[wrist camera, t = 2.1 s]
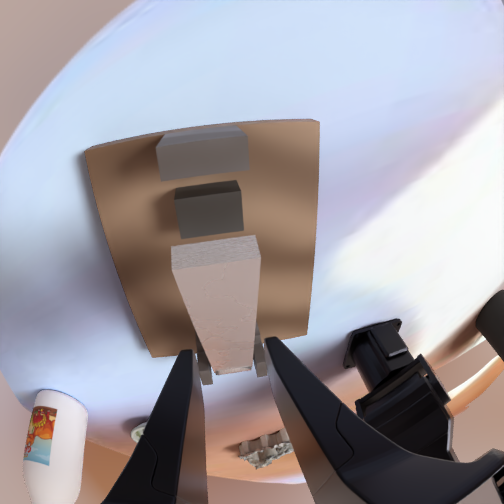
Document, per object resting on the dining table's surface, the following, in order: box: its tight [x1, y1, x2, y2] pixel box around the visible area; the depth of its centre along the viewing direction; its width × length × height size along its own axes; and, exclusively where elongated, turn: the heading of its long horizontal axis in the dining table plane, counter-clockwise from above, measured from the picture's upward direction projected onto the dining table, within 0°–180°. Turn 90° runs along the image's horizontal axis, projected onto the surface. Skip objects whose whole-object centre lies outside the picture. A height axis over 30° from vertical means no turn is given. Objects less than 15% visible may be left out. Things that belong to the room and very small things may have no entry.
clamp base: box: [84, 119, 320, 385], centre depth 19 cm, size 18×14×6 cm
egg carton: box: [238, 428, 294, 469], centre depth 40 cm, size 11×8×4 cm
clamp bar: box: [171, 235, 261, 375], centre depth 16 cm, size 16×3×1 cm, turn 3°
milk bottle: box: [23, 390, 88, 504], centre depth 21 cm, size 8×8×20 cm
